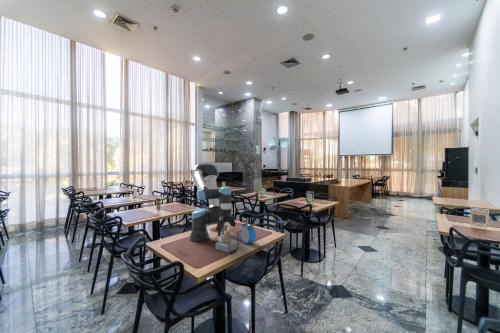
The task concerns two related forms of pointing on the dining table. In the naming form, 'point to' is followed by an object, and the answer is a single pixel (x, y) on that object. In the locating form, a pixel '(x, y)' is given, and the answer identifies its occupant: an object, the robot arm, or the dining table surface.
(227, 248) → the socket station
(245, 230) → the alarm clock
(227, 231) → the peg
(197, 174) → the robot arm
